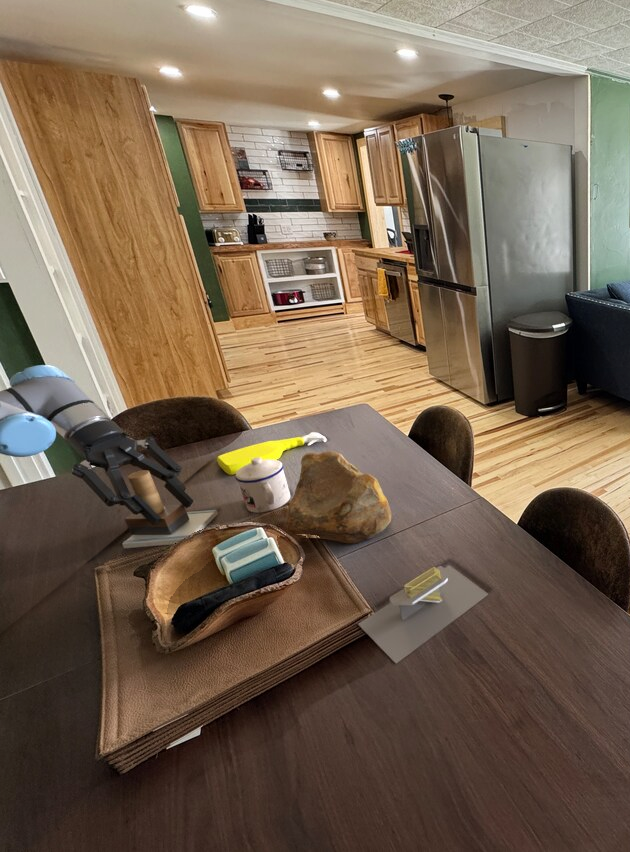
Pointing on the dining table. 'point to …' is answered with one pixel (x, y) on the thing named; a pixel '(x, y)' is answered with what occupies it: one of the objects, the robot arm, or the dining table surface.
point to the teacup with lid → (263, 485)
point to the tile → (193, 525)
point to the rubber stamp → (154, 508)
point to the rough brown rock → (336, 501)
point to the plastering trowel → (421, 611)
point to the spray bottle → (263, 451)
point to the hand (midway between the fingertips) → (173, 512)
